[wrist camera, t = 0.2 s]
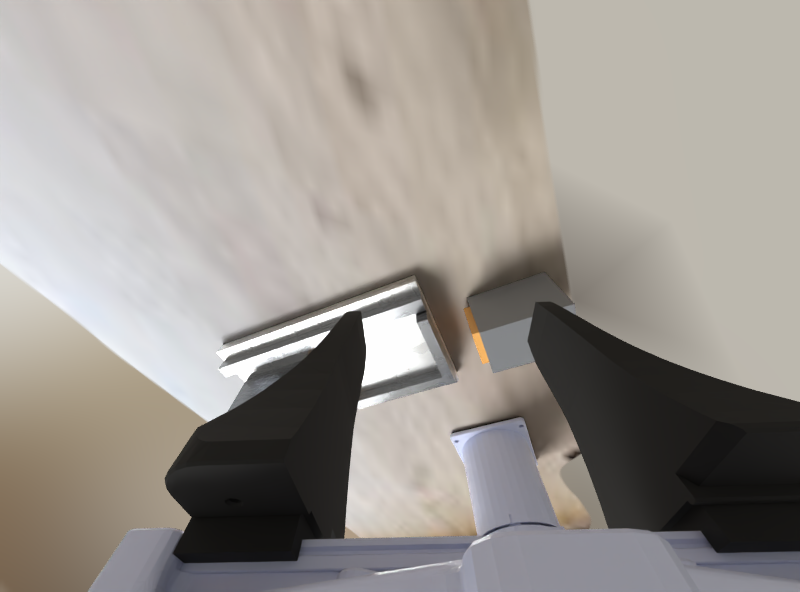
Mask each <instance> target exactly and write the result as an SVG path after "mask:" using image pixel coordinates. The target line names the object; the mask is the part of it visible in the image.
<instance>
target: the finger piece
mask: <svg viewBox="0 0 800 592" xmlns="http://www.w3.org/2000/svg"><path fill="white" fill-rule="evenodd" d="M467 300H468V303H469V306H470V307H467V308H464V312H465V315H466V318H467V321H468V324H469V327H470V330H471V333H472V336H473V339H474V341H475V344H476V347H477V350H478V352H479V355H480V358H481V361H482V363H483V364H484V363H488V362H489V363H490V365H491V368H492V371H493V373H496V372H499V371H503V370H507V369H510V368H514V367H518V366H521V365H525V364H529V363H532V362H535V360H534V358H533V355H532V353H531V350H530V347H529V344H528V342H527V340H528V335H529V331H530V326H531V321H532V316H533V312H534V307H535V302H548V301H551V302H553V303H555V304H557V305H559V306H561V307H563V308H564V309H566V310H568V311H570V312H571V313H573V314H575V315H576V311H575V304H574V303H573V302H572V301H571V300H570V298H569V297H568V296H567V295H566V294H565V293H564V292H563V291H562V290H561V289H560V288H559V287H558V286H557V285H556V284H555V282H554V281H553V280H552V279H551V278H550V277H549V276H548V275H547V274H546V273H545V272H543V273H540V274H537V275H534V276H531V277H528V278H525V279H522V280H519V281H516V282H513V283H510V284H507V285H504V286H501V287H498V288H495V289H492V290H489V291H486V292H483V293H480V294H477V295H474V296H471V297H468V298H467Z"/></svg>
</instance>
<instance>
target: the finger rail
mask: <svg viewBox="0 0 800 592" xmlns="http://www.w3.org/2000/svg"><path fill="white" fill-rule="evenodd" d="M349 311H361V315H362V321H363V327H364V333H365V340H366V346H367V354H366V366H365V373H364V378H363V383H362V388H361V393H360V397H359V402H358V407H357V409H361V408H364V407H368V406H372V405H375V404H379V403H383V402H386V401H390V400H393V399H397V398H401V397H404V396H408V395H412V394H415V393H419V392H422V391H426V390H430V389H433V388H437V387H440V386H444V385H449V384H452V383H456V382H458V380H459V378H458V374H457V371H456V368H455V366H454V364H453V362H452V359H451V357H450V355H449V352H448V350H447V348H446V345H445V343H444V341H443V339H442V336H441V334H440V332H439V329H438V327H437V325H436V322H435V320H434V318H433V316H432V313H431V311H430V309H429V306H428V304H427V302H426V299H425V297H424V295H423V293H422V290H421V288H420V286H419V283H418V281H417V279H416V276H415V275H413V276H410V277H408V278H405V279H402V280H399V281H397V282H394V283H391V284H388V285H386V286H383V287H380V288H377V289H375V290H372V291H369V292H366V293H364V294H361V295H358V296H355V297H353V298H350V299H347V300H344V301H342V302H339V303H336V304H333V305H331V306H328V307H325V308H322V309H320V310H317V311H314V312H312V313H309V314H306V315H303V316H301V317H298V318H295V319H292V320H290V321H287V322H284V323H281V324H279V325H276V326H273V327H270V328H268V329H265V330H262V331H259V332H257V333H254V334H251V335H248V336H246V337H243V338H240V339H237V340H235V341H232V342H229V343H226V344H224V345H222V346H221V348H220V349H219V350H218V351H217V354H218V355H219V356H220V357H221V358H222V359H223V360H224V362H223V363H222V365H221V366H220V367H219V369H218V370H219V371H220V372H221V373H222V374H223V375H224V376H225V377H228V376H231V375H234V374H238V375H239V376H240V377H241V378H242V379H243V380H244V381H245V383H244V385H243V387H242V388H241V390H240V392H239V393H238V395H237V397H236V399H235V400H234V402H233V404H232V405H231V407H230V409H229V410H228V411H230V410H232V409H234V408H236V407H237V406H239V405H241V404H242V403H244V402H246V401H247V400H249V399H251V398H252V397H254V396H255V395H257V394H258V393H260V392H262V391H263V390H265V389H266V388H267V387H269V386H270V385H271V384H273V383H274V382H276V381H277V380H278V379H280V378H281V377H282V376H284V375H285V374H286V373H288V372H289V371H290V370H291V369H293V368H294V367H295V366H296V365H297V364H299V363H300V362H301V361H302V360H303V359H304V358H305V357H306V356H307V355H308V354H309V353H310V352H311V351H312V350H313V349H314V348H315V347H316V346H317V345H318V344H319V343H320V342H321V341H322V340H323V339H324V337H325V336H326V335H327V334H328V333H329V332H330V331H331V329H332V328H333V327H334V326H335V325H336V323H337V322H338V321H339V320H340V319H341V317H342V316H343V315H344V314H345V313H346V312H349Z"/></svg>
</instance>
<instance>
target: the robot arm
mask: <svg viewBox="0 0 800 592" xmlns="http://www.w3.org/2000/svg"><path fill="white" fill-rule="evenodd" d="M527 342H528V344H529V347H530V350H531V353H532V355H533V358H534V360H535V362H536V364H537V366H538V368H539V370H540V372H541V373H542V375H543V377H544V379H545V381H546V382H547V384H548V386H549V388H550V389H551V391H552V393H553V395H554V397H555V398H556V400H557V402H558V404H559V405H560V407H561V409H562V411H563V413H564V415H565V417H566V419H567V421H568V423H569V425H570V428H571V430H572V432H573V435H574V437H575V439H576V442H577V444H578V446H579V449H580V451H581V454H582V456H583V459H584V461H585V463H586V466H587V469H588V471H589V474H590V477H591V479H592V482H593V485H594V488H595V490H596V493H597V496H598V499H599V501H600V504H601V507H602V510H603V513H604V516H605V519H606V522H607V525H608V528H609V529H578V530H565V529H564V527H563V526H561V527H560V524H559V522H558V519H557V517H556V514H555V512H554V509H553V507H552V504H551V502H550V499H549V496H548V494H547V491H546V489H545V486H544V484H543V481H542V479H541V476H540V473H539V471H538V468H537V465H538V463H537V460H536V457H535V453H534V450H533V447H532V443H531V440H530V437H529V433H528V430H527V427H526V424H525V421H524V419H523V418H521V417H519V418H514V419H510V420H506V421H502V422H498V423H494V424H489V425H485V426H481V427H477V428H473V429H469V430H464V431H460V432H456V433H452V434H451V435H450V438H451V441H452V443H453V444H454V446H455V448H456V450H457V452H458V454H459V456H460V457H461V459H462V461H463V463H464V465H465V470H466V476H467V481H468V487H469V492H470V497H471V503H472V508H473V514H474V519H475V525H476V530H477V535H478V536H443V537H397V538H355V539H354V538H352V539H344V533H345V519H346V505H347V492H348V479H349V468H350V458H351V448H352V438H353V429H354V422H355V416H356V412H357V407H358V402H359V397H360V393H361V388H362V383H363V378H364V373H365V366H366V354H367V346H366V340H365V333H364V327H363V321H362V315H361V311H349V312H346V313H345V314H344V315H343V316H342V317H341V319H340V320H339V321H338V322H337V323H336V325H335V326H334V327H333V328H332V329H331V331H330V332H329V333H328V334H327V335H326V336H325V337H324V339H323V340H322V341H321V342H320V343H319V344H318V345H317V346H316V347H315V348H314V349H313V350H312V351H311V352H310V353H309V354H308V355H307V356H306V357H305V358H304V359H303V360H302V361H301V362H300V363H299V364H297V365H296V366H295V367H294V368H293V369H291V370H290V371H289V372H288V373H286V374H285V375H284V376H282V377H281V378H280V379H278V380H277V381H276V382H274V383H273V384H271V385H270V386H269V387H267V388H266V389H265V390H263V391H262V392H260V393H258V394H257V395H255V396H254V397H252V398H251V399H249V400H247V401H246V402H244V403H242V404H241V405H239V406H237V407H236V408H234V409H232V410H230V411H228V412H227V413H225V414H223V415H221V416H219V417H217V418H215V419H213V420H211V421H209V422H208V423H206V424H204V425H202V426H200V427H198V428H197V429H196V431H195V432H194V433H193V435H192V436H191V438H190V439H189V441H188V442H187V444H186V445H185V447H184V448H183V450H182V451H181V453H180V454H179V456H178V457H177V459H176V460H175V462H174V463H173V465H172V466H171V468H170V469H169V471H168V472H167V475H166V477H165V484H166V488H167V490H168V491H169V493H170V494H171V496H172V497H173V498H174V499H175V500H176V501H177V502H178V503H179V504H180V505H181V506H182V507H183V509H184V510H185V511H186V512H187V513H188V514H189V515H190V516H191V517H192V518H191V520H190V522H189V523H188V525H187V527H186V529H185V531H182V530H179V529H175V528H138V529H131V530H129V531H128V532H127V533H126V535H125V536H124V538H123V539H122V541H121V542H120V544H119V545H118V547H117V548H116V550H115V551H114V553H113V554H112V556H111V557H110V559H109V560H108V562H107V563H106V565H105V566H104V568H103V569H102V571H101V572H100V574H99V575H98V577H97V578H96V580H95V581H94V583H93V585H92V586H91V587H90V589H89V590H88V592H800V402H797V401H794V400H790V399H786V398H782V397H779V396H775V395H771V394H767V393H763V392H760V391H756V390H752V389H749V388H746V387H742V386H739V385H736V384H733V383H729V382H726V381H723V380H720V379H717V378H713V377H711V376H708V375H705V374H702V373H699V372H696V371H693V370H690V369H688V368H685V367H682V366H680V365H677V364H674V363H672V362H669V361H667V360H664V359H662V358H659V357H657V356H655V355H653V354H650V353H648V352H645V351H643V350H641V349H639V348H637V347H634V346H632V345H630V344H628V343H626V342H624V341H622V340H620V339H618V338H616V337H614V336H612V335H611V334H609V333H607V332H605V331H603V330H601V329H599V328H598V327H596V326H594V325H592V324H591V323H589V322H587V321H585V320H584V319H582V318H580V317H578V316H577V315H575V314H573V313H571V312H570V311H568V310H566V309H564V308H563V307H561V306H559V305H557V304H555V303H553V302H551V301H548V302H535V307H534V312H533V316H532V321H531V326H530V331H529V335H528V340H527Z"/></svg>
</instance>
